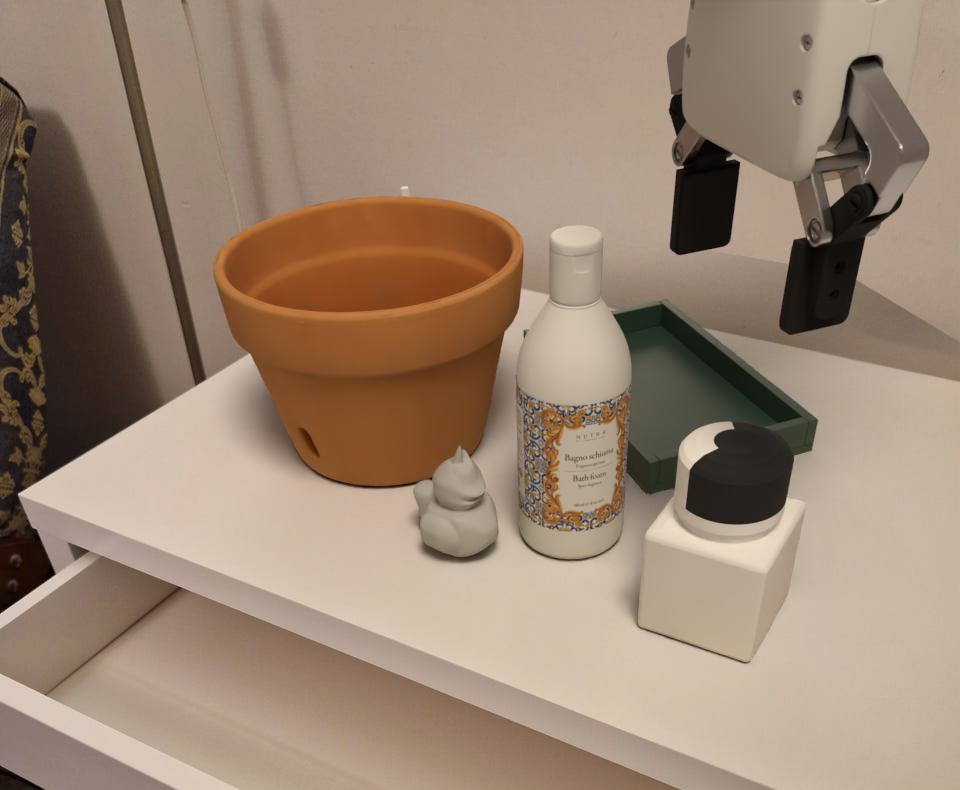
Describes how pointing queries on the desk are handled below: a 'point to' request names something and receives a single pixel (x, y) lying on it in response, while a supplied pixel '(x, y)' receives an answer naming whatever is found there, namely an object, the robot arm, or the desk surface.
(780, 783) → the desk surface
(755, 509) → the medicine bottle
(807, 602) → the desk surface
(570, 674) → the desk surface
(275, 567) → the desk surface
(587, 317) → the bath foam
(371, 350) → the flower pot
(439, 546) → the rubber duck
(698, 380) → the tray
